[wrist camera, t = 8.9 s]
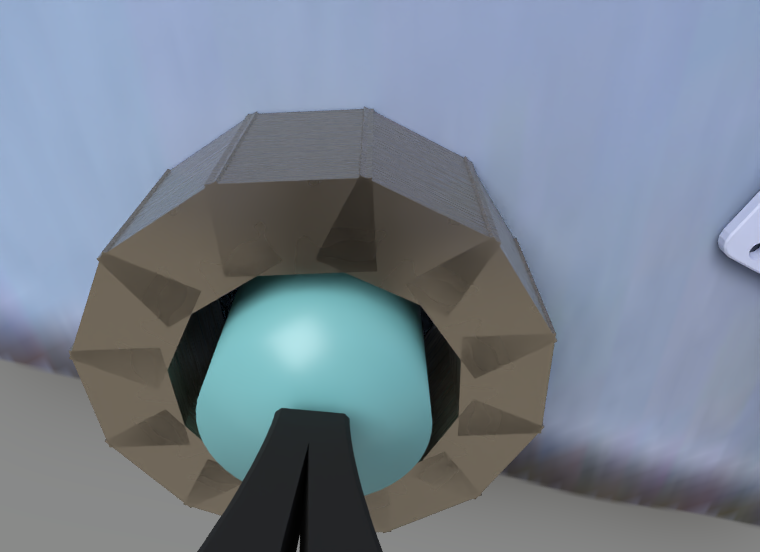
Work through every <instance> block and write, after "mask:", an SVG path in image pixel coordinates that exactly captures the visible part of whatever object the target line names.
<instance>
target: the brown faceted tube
mask: <svg viewBox="0 0 760 552" xmlns="http://www.w3.org/2000/svg"><path fill="white" fill-rule="evenodd" d="M97 260H98V261H99V264H98V267H97V270H96V273H95V277H94V280H93V283H92V287H91V290H90V293H89V296H88V300H87V303H86V306H85V309H84V313H83V316H82V319H81V322H80V326H79V329H78V332H77V335H76V339H75V342H74V344H73V346H72V347H71V349H70V350H69V353H70V358H69V359H71V360H73V362H74V365H75V367H76V369H77V372H78V374H79V376H80V379H81V381H82V383H83V386H84V388H85V390H86V393H87V395H88V397H89V400H90V402H91V404H92V407H93V409H94V411H95V414H96V416H97V418H98V421H99V423H100V426H101V428H102V430H103V433H104V435H105V437H106V440H105V442H106V443H108V444H109V447H113V448H114V449H115V450H117V451H118V452H119V453H121V454H122V455H123V456H124V457H126V458H127V459H128V460H130V461H131V462H132V463H134V464H135V465H136V466H137V467H139V468H140V469H141V470H143V471H144V472H145V473H146V474H148V475H149V476H150V477H152V478H153V479H154V480H156V481H157V482H158V483H159V484H161V485H162V486H164V487H165V488H166V489H167V490H168V491H170V492H171V493H172V494H174V495H175V496H176V497H177V498H179V499H180V500H181V501H183V502H184V505H188V506H189V507H190V508H191V507H195V508H198V509H201V510H205V511H208V512H211V513H215V514H218V515H221V516H222V514H223V513H224V511H225V510H226V508H227V506H228V505H229V503H230V502H231V500H232V498H233V497H234V495H235V493H236V491H237V490H238V488H239V486H240V485H241V483H242V481H241V480H239V479H238V478H236V477H235V476H233V475H232V474H230V473H229V472H228V471H226V470H225V469H224V468H223V467H222V466H221V465H220V464H219V463H218V462H217V461H216V460H215V459H214V458H213V456H212V455H211V454H210V453H209V451H208V450H207V448H206V446H205V445H204V443H203V441H202V439H201V436H200V434H199V431H198V426H197V422H196V406H197V399H198V396H199V393H200V390H201V388H202V385H203V382H204V379H205V377H206V374H207V371H208V369H209V366H210V363H211V360H212V358H213V355H214V352H215V349H216V347H217V344H218V341H219V339H220V336H221V333H222V330H223V328H224V325H225V322H226V321H225V320H224V318H223V313H222V309H221V305H220V301H219V298H220V297H222V296H223V295H225V294H227V293H229V292H230V291H232V290H234V289H236V288H237V287H239V286H241V285H242V284H244V283H246V282H248V281H249V280H251V279H253V278H254V277H256V276H269V275H295V274H321V273H347V274H349V275H351V276H354V277H356V278H358V279H361V280H363V281H365V282H368V283H370V284H372V285H374V286H377V287H379V288H381V289H384V290H386V291H388V292H391V293H393V294H395V295H398V296H400V297H402V298H405V299H407V300H409V301H411V302H414V303H416V304H418V305H421V306H422V308H423V309H424V311H425V312H426V313H427V315H428V316H429V317H430V319H431V320H432V321H433V323H434V324H433V325H432V327H431V328H430V330H429V331H428V332H427V334H426V335H425V337H424V346H425V356H426V366H427V375H428V385H429V395H430V404H431V414H432V433H431V437H430V440H429V444H428V446H427V448H426V450H425V452H424V454H423V456H422V457H421V459H420V460H419V461H418V463H417V464H416V465H415V466H414V467H413V468H412V469H411V470H410V471H409V472H408V473H407V474H406V475H404V476H403V477H402V478H401V479H399V480H397V481H396V482H394V483H393V484H391V485H389V486H387V487H385V488H383V489H381V490H379V491H376V492H374V493H371V494H368V495H365V496H364V497H365V500H366V503H367V507H368V510H369V513H370V517H371V520H372V523H373V526H374V529H375V532H383V533H385V532H391V530H393V529H396V528H398V527H401V526H403V525H406V524H409V523H411V522H414V521H416V520H419V519H422V518H424V517H427V516H429V515H432V514H435V513H437V512H440V511H442V510H445V509H447V508H450V507H453V506H455V505H458V504H460V503H463V502H465V501H468V500H471V499H476V498H477V497H478V496H481V495H482V494H481V493H482V492H483V491H484V490H485V489H486V488H487V486H488V485H489V484H490V483H491V482H492V481H493V480H494V479H495V478H496V477H497V476H498V475H499V474H500V473H501V472H502V471H503V470H504V469H505V468H506V467H507V466H508V464H509V463H510V462H511V461H512V460H513V459H514V458H515V457H516V456H517V455H518V454H519V453H520V452H521V451H522V450H523V449H524V448H525V447H526V446H527V445H528V443H529V442H530V441H531V440H532V439H533V438H534V437H535V436H536V435H537V434H538V433H541V430H542V429H543V428H544V425H543V416H544V409H545V402H546V396H547V389H548V382H549V376H550V369H551V362H552V356H553V349H554V343H555V342H557V339H556V337H555V336H556V333H555V330H554V328H553V326H552V323H551V321H550V318H549V316H548V314H547V311H546V309H545V306H544V304H543V301H542V299H541V297H540V294H539V292H538V289H537V287H536V285H535V282H534V280H533V277H532V275H531V273H530V270H529V268H528V265H527V263H526V261H525V258H524V256H523V253H522V251H521V248H520V246H519V244H518V241H517V239H516V238H513V236H512V234H511V233H510V231H509V229H508V228H507V226H506V224H505V222H504V221H503V219H502V217H501V216H500V214H499V212H498V210H497V209H496V207H495V205H494V204H493V202H492V200H491V199H490V197H489V195H488V193H487V192H486V190H485V188H484V187H483V185H482V183H481V181H480V180H479V178H478V176H477V175H476V172H475V169H474V166H473V164H472V162H471V161H469V160H468V159H467V157H464V158H463V157H461V156H459V155H457V154H455V153H453V152H451V151H450V150H448V149H446V148H444V147H442V146H440V145H438V144H436V143H434V142H432V141H430V140H428V139H426V138H424V137H422V136H420V135H418V134H417V133H415V132H413V131H411V130H409V129H407V128H405V127H403V126H401V125H399V124H397V123H395V122H393V121H391V120H389V119H387V118H386V117H384V116H382V115H380V114H378V113H376V112H374V109H368V108H366V107H364V109H355V110H332V111H310V112H287V113H264V114H258V113H257V112H255V113H253V114H248V115H247V116H246V118H245V120H243V121H242V122H240V123H239V124H237V125H236V126H234V127H233V128H231V129H230V130H229V131H227V132H226V133H224V134H223V135H221V136H220V137H218V138H217V139H215V140H214V141H212V142H211V143H210V144H208V145H207V146H205V147H204V148H202V149H201V150H199V151H198V152H196V153H195V154H193V155H192V156H190V157H189V158H188V159H186V160H185V161H183V162H182V163H180V164H179V165H177V166H176V167H174V168H173V169H171V170H169V169H168V170H167V171H166V172H165V173H164V175H163V176H162V177H161V178H160V180H159V181H158V182H157V183H156V185H155V186H154V187H153V188H152V190H151V191H150V192H149V193H148V195H147V196H146V197H145V199H144V200H143V201H142V202H141V204H140V205H139V206H138V207H137V209H136V210H135V211H134V212H133V214H132V215H131V216H130V217H129V219H128V220H127V221H126V222H125V224H124V225H123V226H122V227H121V229H120V230H119V231H118V232H117V234H116V235H115V236H114V237H113V239H112V240H111V241H110V243H109V244H108V245H107V246H106V248H105V249H104V250H103V251H102V253H101V254H100V255H99V257H98V258H97Z"/></svg>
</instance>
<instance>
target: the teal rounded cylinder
mask: <svg viewBox="0 0 760 552" xmlns="http://www.w3.org/2000/svg"><path fill="white" fill-rule="evenodd" d="M281 408H290V409H301V410H312V411H323V412H334V413H345V414H346V415H347V416H348V417H349V418H350V432H351V440H352V446H353V452H354V457H355V461H356V466H357V470H358V475H359V479H360V482H361V486H362V490H363V493H364V496H365V495H368V494H371V493H374V492H376V491H379V490H381V489H383V488H385V487H387V486H389V485H391V484H393V483H394V482H396V481H397V480H399V479H401V478H402V477H403V476H404V475H406V474H407V473H408V472H409V471H410V470H411V469H412V468H413V467H414V466H415V465H416V464H417V463H418V461H419V460H420V459H421V457H422V456H423V454H424V452H425V450H426V448H427V446H428V444H429V440H430V437H431V433H432V414H431V404H430V395H429V385H428V375H427V366H426V356H425V346H424V337H423V327H422V317H421V308H420V305H418V304H416V303H414V302H411V301H409V300H407V299H405V298H402V297H400V296H398V295H395V294H393V293H391V292H388V291H386V290H384V289H381V288H379V287H377V286H374V285H372V284H370V283H368V282H365V281H363V280H361V279H358V278H356V277H354V276H351V275H349V274H347V273H321V274H295V275H269V276H256V277H254V278H253V279H251V280H249V281H248V282H246V283H244V284H242V285H241V286H239V287H238V289H237V292H236V295H235V298H234V300H233V303H232V306H231V309H230V311H229V314H228V317H227V319H226V322H225V325H224V328H223V330H222V333H221V336H220V339H219V341H218V344H217V347H216V349H215V352H214V355H213V358H212V360H211V363H210V366H209V369H208V371H207V374H206V377H205V379H204V382H203V385H202V388H201V390H200V393H199V396H198V399H197V406H196V422H197V426H198V431H199V434H200V436H201V439H202V441H203V443H204V445H205V446H206V448H207V450H208V451H209V453H210V454H211V455H212V456H213V458H214V459H215V460H216V461H217V462H218V463H219V464H220V465H221V466H222V467H223V468H224V469H225V470H226V471H228V472H229V473H230V474H232V475H233V476H235V477H236V478H238V479H239V480H241V481H243V479H244V478H245V476H246V474H247V472H248V471H249V469H250V467H251V465H252V463H253V462H254V460H255V458H256V456H257V454H258V452H259V450H260V448H261V446H262V444H263V442H264V440H265V437H266V435H267V433H268V430H269V428H270V426H271V423H272V420H273V417H274V414H275V412H276V411H277V410H279V409H281Z"/></svg>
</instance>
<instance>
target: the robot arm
mask: <svg viewBox="0 0 760 552" xmlns="http://www.w3.org/2000/svg"><path fill="white" fill-rule="evenodd" d="M758 243H760V191H759V192H758V193H757V194H756V195H755V196H754V197H753V198H752V200H751V201H750V202H749V203H748V204H747V205H746V206H745V207H744V208H743V209H742V210H741V211H740V212H739V213H738V214H737V215H736V217H735V218H734V219H733V220H732V221H731V222H730V223H729V224H728V225H727V226H726V227H725V228H724V229H723V231H722V232H721V234H720V235H719V239H718V244H719V248H720V249H721V250H722V251H723V252H724V253H725V254H726V255H727V256H728V257H729V258H731V259H733V260H735V261H737V262H738V263H740V264H742V265H744V266H746V267H748V268H750V269H752V270H753V271H755V272H757V273H759V274H760V247H759V248H758V249H757V250H755V251H754V252H749V251H750V250H751V248H752V247H753V246H755V245H756V244H758ZM299 536H300V552H383V551H382V549H381V546H380V544H379V540H378V538H377V535H376V532H375V529H374V526H373V523H372V520H371V517H370V513H369V510H368V507H367V503H366V500H365V497H364V493H363V490H362V486H361V482H360V479H359V475H358V470H357V466H356V461H355V457H354V452H353V446H352V440H351V432H350V418H349V417H348V416H347V415H346V414H345V413H334V412H323V411H312V410H301V409H290V408H281V409H279V410H277V411H276V412H275V414H274V417H273V420H272V423H271V426H270V428H269V430H268V433H267V435H266V437H265V440H264V442H263V444H262V446H261V448H260V450H259V452H258V454H257V456H256V458H255V460H254V462H253V463H252V465H251V467H250V469H249V471H248V472H247V474H246V476H245V478H244V479H243V481H242V483H241V485H240V486H239V488H238V490H237V491H236V493H235V495H234V497H233V498H232V500H231V502H230V503H229V505H228V506H227V508H226V510H225V511H224V513H223V514H222V516H221V517H220V519H219V520H218V522H217V523H216V525H215V526H214V528H213V529H212V531H211V532H210V534H209V535H208V537H207V538H206V540H205V542H204V543H203V544H202V546H201V547H200V549H199V550H198V552H296V550H297V545H298V540H299Z"/></svg>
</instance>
